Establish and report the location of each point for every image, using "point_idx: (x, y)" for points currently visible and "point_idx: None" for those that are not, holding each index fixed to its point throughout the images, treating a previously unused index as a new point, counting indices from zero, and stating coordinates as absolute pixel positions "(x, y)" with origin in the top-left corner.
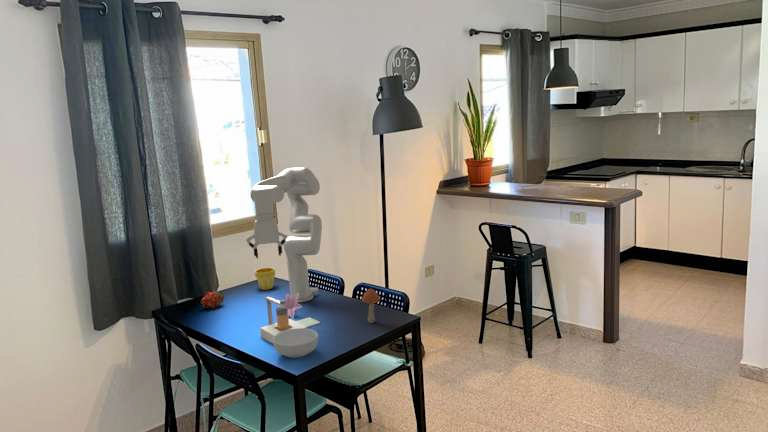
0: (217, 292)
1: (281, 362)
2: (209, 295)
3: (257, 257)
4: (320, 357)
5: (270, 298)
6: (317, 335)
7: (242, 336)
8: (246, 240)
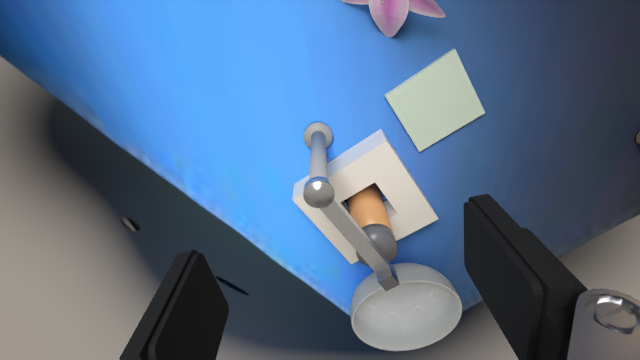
0: None
1: None
2: None
3: (223, 315)
4: None
5: (331, 213)
6: (460, 317)
7: (234, 170)
8: None
